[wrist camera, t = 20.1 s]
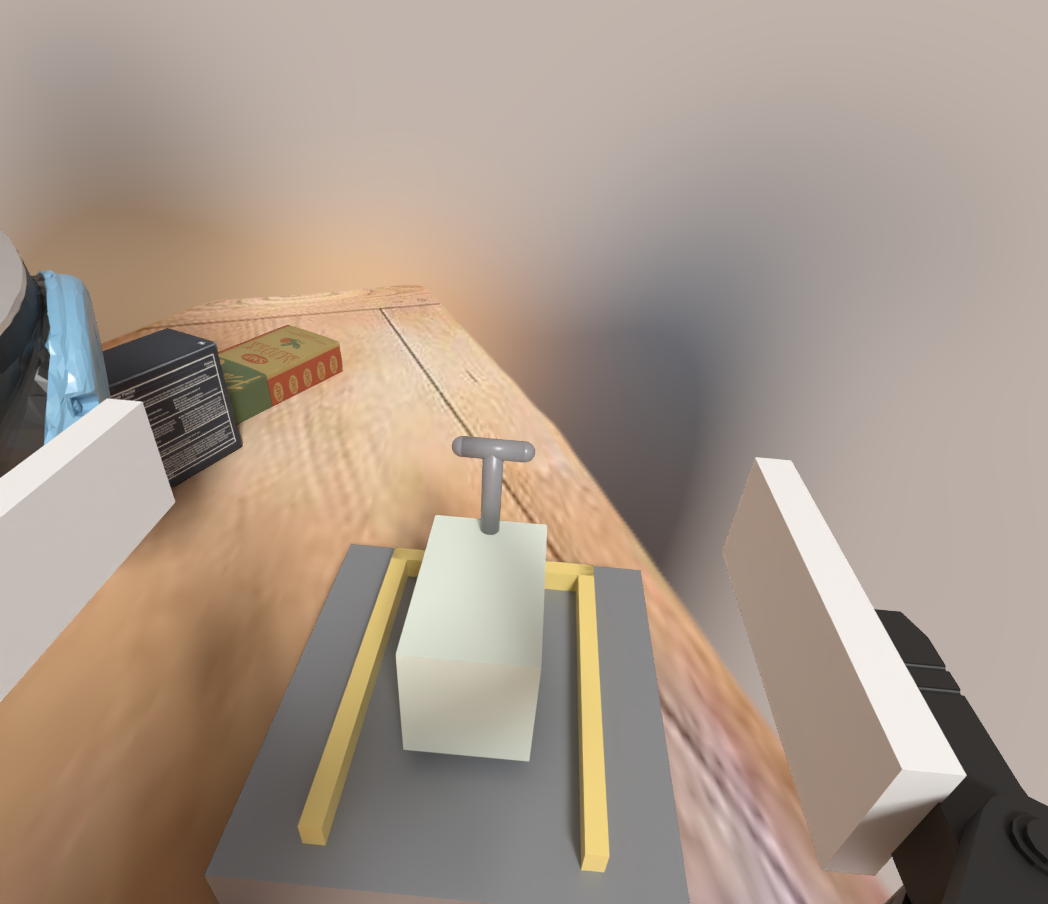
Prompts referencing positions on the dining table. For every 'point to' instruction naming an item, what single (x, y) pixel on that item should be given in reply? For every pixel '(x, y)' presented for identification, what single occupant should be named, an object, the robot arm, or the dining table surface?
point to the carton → (276, 368)
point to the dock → (461, 766)
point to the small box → (177, 398)
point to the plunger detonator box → (476, 625)
